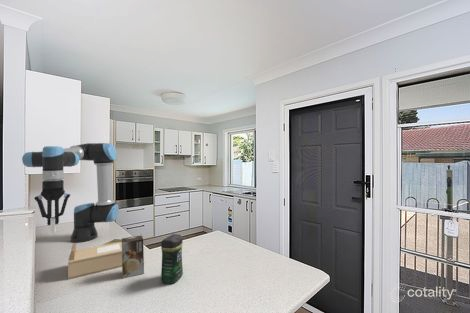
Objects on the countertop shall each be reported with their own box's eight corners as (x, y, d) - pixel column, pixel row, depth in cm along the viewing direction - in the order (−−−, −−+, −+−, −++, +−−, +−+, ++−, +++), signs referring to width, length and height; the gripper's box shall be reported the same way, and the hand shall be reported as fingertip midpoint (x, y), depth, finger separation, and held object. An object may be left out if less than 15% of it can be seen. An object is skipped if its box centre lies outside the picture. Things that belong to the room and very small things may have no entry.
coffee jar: (175, 285, 92) (174, 240, 93) (158, 283, 94) (157, 239, 95) (185, 274, 102) (185, 233, 102) (170, 272, 104) (169, 232, 104)
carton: (93, 256, 124) (93, 248, 124) (114, 245, 140) (114, 238, 140) (106, 257, 122) (106, 249, 122) (126, 245, 138) (126, 239, 138)
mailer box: (71, 267, 110) (71, 252, 110) (128, 254, 124) (128, 241, 124) (68, 279, 98) (68, 263, 99) (132, 264, 112) (132, 250, 112)
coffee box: (142, 268, 108) (142, 234, 109) (144, 273, 103) (144, 238, 103) (121, 272, 104) (121, 238, 104) (121, 279, 98) (121, 242, 99)
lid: (71, 252, 111) (71, 242, 111) (128, 241, 124) (128, 233, 125) (68, 263, 98) (68, 252, 98) (132, 250, 112) (132, 240, 112)
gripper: (32, 181, 95) (32, 236, 95) (70, 179, 102) (70, 231, 102) (36, 180, 102) (36, 232, 101) (71, 178, 109) (71, 227, 108)
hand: (53, 231), depth 101 cm, fingers closed
